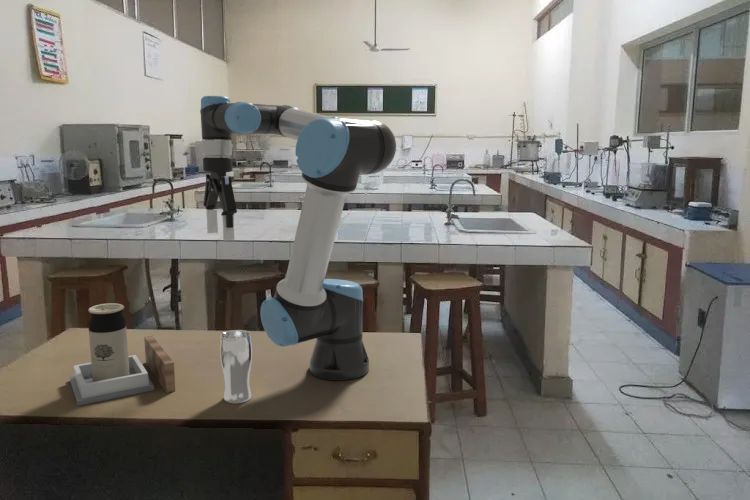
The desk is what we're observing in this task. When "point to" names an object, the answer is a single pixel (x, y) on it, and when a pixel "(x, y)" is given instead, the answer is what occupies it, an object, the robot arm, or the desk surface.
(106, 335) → the travel mug
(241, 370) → the beer glass
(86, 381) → the socket
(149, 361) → the door edge rail
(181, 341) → the desk surface
